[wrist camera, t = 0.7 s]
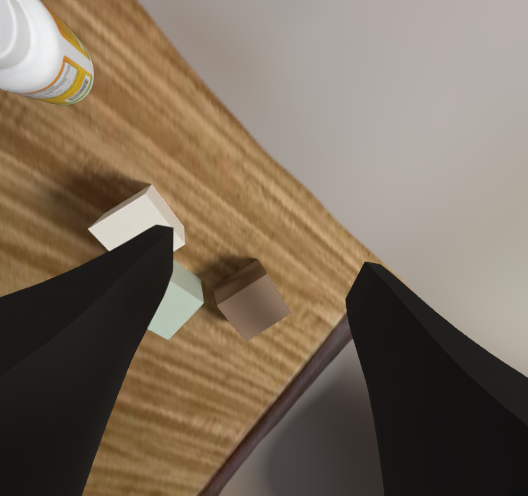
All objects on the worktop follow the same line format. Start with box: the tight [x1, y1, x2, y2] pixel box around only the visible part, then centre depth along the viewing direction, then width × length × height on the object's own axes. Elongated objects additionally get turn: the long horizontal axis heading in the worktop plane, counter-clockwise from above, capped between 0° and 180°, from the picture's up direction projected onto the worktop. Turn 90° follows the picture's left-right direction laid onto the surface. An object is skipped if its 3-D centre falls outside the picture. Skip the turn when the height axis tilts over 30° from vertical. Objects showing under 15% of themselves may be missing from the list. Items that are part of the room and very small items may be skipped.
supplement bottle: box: [0, 0, 94, 105], centre depth 16 cm, size 5×5×10 cm
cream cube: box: [88, 184, 185, 252], centre depth 24 cm, size 5×5×5 cm
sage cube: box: [147, 260, 204, 340], centre depth 26 cm, size 5×5×5 cm
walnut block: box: [213, 259, 291, 342], centre depth 30 cm, size 6×6×4 cm
